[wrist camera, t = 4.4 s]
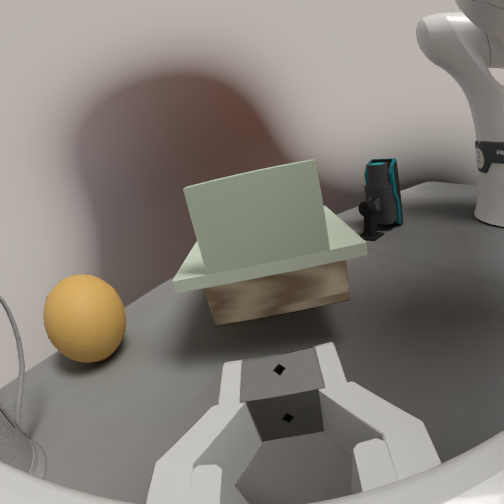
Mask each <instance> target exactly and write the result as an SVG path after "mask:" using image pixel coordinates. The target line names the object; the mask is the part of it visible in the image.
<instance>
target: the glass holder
mask: <svg viewBox="0 0 504 504" xmlns="http://www.w3.org/2000/svg"><path fill="white" fill-rule="evenodd" d="M0 302H1V304H2V305H3V307H4V309H5V310H6V313H7V315H8V317H9V320H10V322H11V325H12V328H13V331H14V335H15V338H16V343H17V350H18V358H19V379H18V390H17V397H16V407H15V421H16V424H15V423H14V422H13V421H12V419H11V418H10V417H9V416H8V414H7V413H6V412H5V410H4V409H3V408H2V407H1V405H0V461H2V462H4V463H6V464H8V465H10V466H13V467H15V468H17V469H19V470H22V471H24V472H26V473H29V474H31V475H34V476H36V477H39V478H42V479H44V478H45V474H46V466H47V462H46V456H45V453H44V451H43V449H42V448H41V446H40V445H38V444H37V443H36V442H35V441H33V440H31V439H29V438H27V437H26V436H25V435H24V434H26V432H25V430H24V429H23V428H22V426H21V421H20V416H21V403H22V394H23V383H24V373H25V363H24V355H23V349H22V343H21V338H20V335H19V332H18V328H17V325H16V322H15V320H14V318H13V315H12V313H11V311H10V309H9V307H8V305H7V304H6V302H5V300H4V299H3V298H2V297H1V296H0ZM23 433H24V434H23Z"/></svg>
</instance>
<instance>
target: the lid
mask: <svg viewBox="0 0 504 504" xmlns="http://www.w3.org/2000/svg"><path fill="white" fill-rule="evenodd" d="M183 190H184V193H185V198H186V201H187V205H188V209H189V213H190V216H191V220H192V224H193V227H194V231H195V235H196V238H197V242H196V243H195V245H194V247H193V248H192V250H191V251H190V253H189V255H188V256H187V258H186V259H185V261H184V263H183V264H182V266H181V267H180V269H179V271H178V273H177V274H176V276H175V277H174V279H173V281H172V283H173V286H174V289H175V292H176V293H181V292H186V291H192V290H197V289H203V288H208V287H213V286H219V285H224V284H229V283H235V282H240V281H245V280H250V279H255V278H260V277H265V276H270V275H275V274H280V273H285V272H290V271H295V270H300V269H305V268H310V267H314V266H319V265H324V264H329V263H333V262H338V261H343V260H347V259H352V258H356V257H361V256H365V255H367V244H366V241H364V240H363V239H362V238H361V237H360V236H359V235H358V234H357V233H356V232H354V231H353V230H352V229H351V228H350V227H349V226H348V225H347V224H345V223H344V222H343V221H342V220H341V219H340V218H339V217H338V216H336V215H335V214H334V213H333V212H332V211H331V210H329V209H328V208H327V207H326V206H323V201H322V195H321V190H320V184H319V178H318V173H317V168H316V163H315V160H306V161H301V162H296V163H290V164H285V165H280V166H275V167H270V168H265V169H260V170H255V171H251V172H247V173H242V174H238V175H233V176H229V177H225V178H220V179H216V180H212V181H208V182H204V183H200V184H196V185H192V186H188V187H186V188H184V189H183Z"/></svg>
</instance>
